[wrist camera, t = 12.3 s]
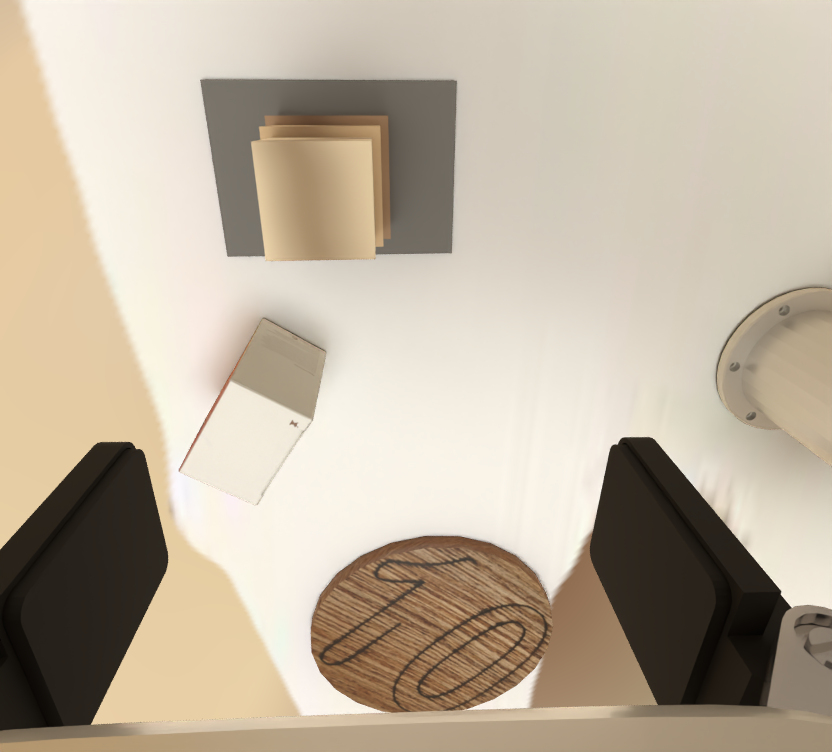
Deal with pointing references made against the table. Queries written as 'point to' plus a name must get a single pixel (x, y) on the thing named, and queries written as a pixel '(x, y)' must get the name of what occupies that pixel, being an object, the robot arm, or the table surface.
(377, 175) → the oak block
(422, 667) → the trivet
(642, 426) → the table surface
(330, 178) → the maple cube
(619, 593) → the robot arm
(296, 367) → the small box
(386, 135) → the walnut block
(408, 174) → the slate mat
